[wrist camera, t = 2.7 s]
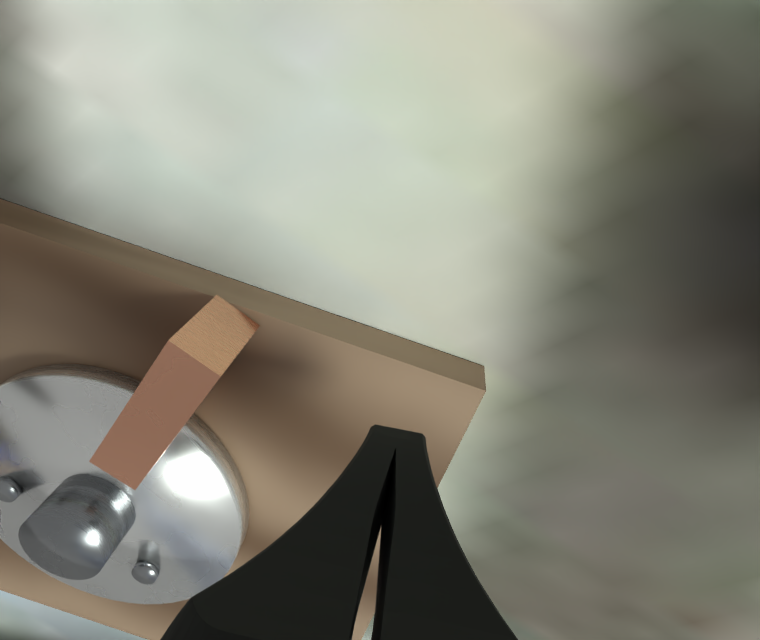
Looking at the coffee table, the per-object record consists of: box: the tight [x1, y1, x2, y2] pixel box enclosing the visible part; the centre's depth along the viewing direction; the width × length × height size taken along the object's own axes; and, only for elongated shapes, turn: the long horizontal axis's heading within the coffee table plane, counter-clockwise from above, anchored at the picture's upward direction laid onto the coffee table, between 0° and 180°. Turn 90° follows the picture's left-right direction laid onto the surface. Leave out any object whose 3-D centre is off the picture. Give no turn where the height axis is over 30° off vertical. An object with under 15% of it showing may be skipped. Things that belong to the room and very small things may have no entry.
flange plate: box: [0, 295, 260, 604], centre depth 18 cm, size 16×11×3 cm
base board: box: [0, 199, 486, 640], centre depth 20 cm, size 19×23×5 cm
